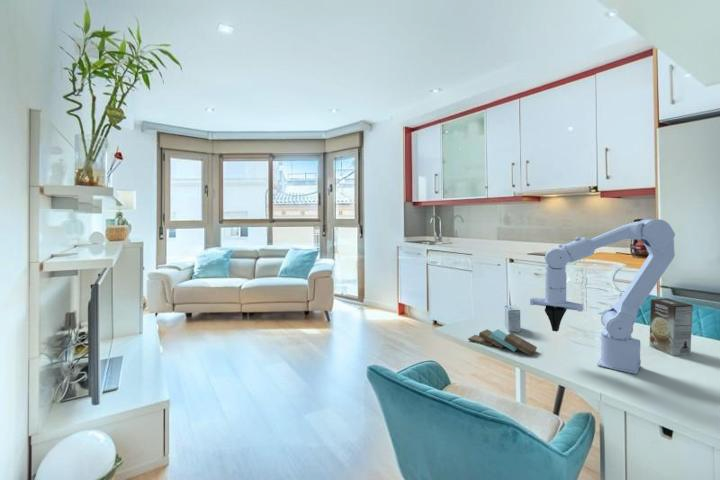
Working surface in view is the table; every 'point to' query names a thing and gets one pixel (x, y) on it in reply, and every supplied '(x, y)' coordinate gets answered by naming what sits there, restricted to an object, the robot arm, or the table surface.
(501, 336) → the domino
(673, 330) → the coffee box
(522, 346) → the domino
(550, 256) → the robot arm
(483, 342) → the end domino
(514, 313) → the medicine box
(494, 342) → the domino
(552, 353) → the table surface
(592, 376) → the table surface
